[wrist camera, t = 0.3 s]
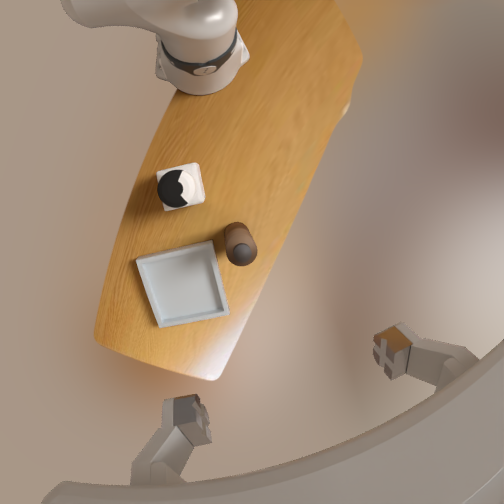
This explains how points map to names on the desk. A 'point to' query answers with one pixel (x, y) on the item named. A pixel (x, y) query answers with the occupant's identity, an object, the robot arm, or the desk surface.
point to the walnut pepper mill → (239, 244)
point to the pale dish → (184, 284)
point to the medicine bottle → (180, 186)
